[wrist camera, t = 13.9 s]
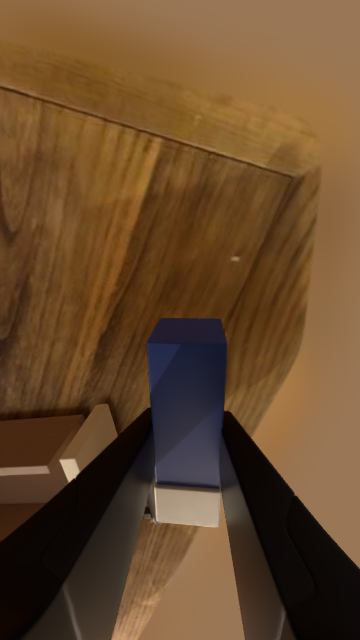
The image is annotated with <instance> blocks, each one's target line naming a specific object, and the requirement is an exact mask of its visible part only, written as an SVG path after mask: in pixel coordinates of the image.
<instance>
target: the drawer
mask: <svg viewBox="0 0 360 640" xmlns="http://www.w3.org/2000/svg"><path fill="white" fill-rule="evenodd" d="M116 437H118V435H117V432H116V429H115V425H114V422H113V419H112V415H111V412H110V409H109V406H108V404H99V405H96V406H95V407H94V409H93V410H92V412H91V413H90V415H89V416H88V418H87V419H86V420H85V418H84V415H83V414H81V415H69V416H56V417H44V418H31V419H19V420H6V421H0V542H1V541H2V540H3V539H4V538H5V537H7V536H8V535H9V534H10V533H12V532H13V531H14V530H15V529H16V528H18V527H19V526H20V525H21V524H23V523H24V522H25V521H26V520H27V519H29V518H30V517H31V516H32V515H33V514H34V513H36V512H37V511H38V510H39V509H40V508H42V507H43V506H44V505H45V504H46V503H47V502H48V501H50V500H51V499H52V498H53V497H54V496H55V495H56V494H57V493H58V492H59V491H60V490H62V489H63V488H64V487H65V486H66V485H67V484H68V483H69V482H70V481H71V480H72V479H73V478H76V476H77V475H78V474H79V473H80V472H81V471H82V470H83V469H84V468H85V467H86V466H87V465H88V464H89V463H90V462H91V461H92V460H93V459H94V458H95V457H97V456H98V455H99V454H100V453H101V452H102V451H103V450H104V449H105V448H106V447H107V446H108V445H109V444H110V443H111V442H112V441H113V440H114V439H115V438H116ZM154 483H155V469H154V475H153V480H152V484H151V488H150V492H149V496H148V499H147V502H148V505H149V507H145V511H144V515H143V518H152V519H153V522H154V523H155V524H162V523H163V522H158V521H157V520H156V509H155V494H154Z"/></svg>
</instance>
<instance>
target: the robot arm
mask: <svg viewBox="0 0 360 640" xmlns="http://www.w3.org/2000/svg"><path fill="white" fill-rule="evenodd" d="M154 469H155V451H154V434H153V425H152V417H151V407H149V408H147V409H146V410H145V411H144V412H143V413H142V414H141V415H140V416H139V417H138V418H136V419H135V420H134V421H133V422H132V423H131V424H130V425H129V426H128V427H127V428H126V429H125V430H124V431H123V432H122V433H121V434H120V435H119V436H118V437H116V438H115V439H114V440H113V441H112V442H111V443H110V444H109V445H108V446H107V447H106V448H105V449H104V450H103V451H102V452H101V453H100V454H99V455H98V456H97V457H95V458H94V459H93V460H92V461H91V462H90V463H89V464H88V465H87V466H86V467H85V468H84V469H83V470H82V471H81V472H80V473H79V474H78V475H77V476H76V478H73V479H72V480H71V481H70V482H69V483H68V484H67V485H66V486H65V487H64V488H63V489H62V490H60V491H59V492H58V493H57V494H56V495H55V496H54V497H53V498H52V499H51V500H50V501H48V502H47V503H46V504H45V505H44V506H43V507H42V508H40V509H39V510H38V511H37V512H36V513H34V514H33V515H32V516H31V517H30V518H29V519H27V520H26V521H25V522H24V523H23V524H21V525H20V526H19V527H18V528H16V529H15V530H14V531H13V532H12V533H10V534H9V535H8V536H7V537H5V538H4V539H3V540H2V541H1V542H0V640H111V638H112V634H113V630H114V626H115V622H116V618H117V615H118V611H119V607H120V603H121V599H122V595H123V592H124V588H125V584H126V580H127V576H128V572H129V569H130V565H131V561H132V557H133V553H134V549H135V545H136V542H137V538H138V534H139V530H140V526H141V522H142V519H143V515H144V511H145V507H146V503H147V499H148V496H149V492H150V488H151V484H152V480H153V475H154ZM219 476H220V485H221V492H222V498H223V504H224V510H225V516H226V523H227V530H228V536H229V542H230V548H231V555H232V560H233V567H234V573H235V579H236V586H237V592H238V598H239V604H240V610H241V617H242V623H243V630H244V636H245V640H360V569H359V568H358V567H357V565H356V564H355V563H354V562H353V561H352V560H351V559H350V558H349V557H348V556H347V555H346V553H345V552H344V551H343V550H342V549H341V548H340V547H339V546H338V544H337V543H336V542H335V541H334V540H333V539H332V538H331V537H330V535H328V534H327V532H326V531H325V530H324V529H323V527H322V526H321V525H320V524H319V523H318V521H317V520H316V519H315V518H314V517H313V515H312V514H311V513H310V512H309V511H308V509H307V508H306V507H305V506H304V504H303V503H302V502H301V501H300V499H299V498H298V497H297V496H294V495H295V494H294V492H293V491H292V489H291V488H290V487H289V486H288V484H287V483H286V482H285V480H283V478H282V477H281V475H280V474H279V473H278V472H277V470H276V469H275V468H274V467H273V465H272V464H271V463H270V462H269V460H268V459H267V458H266V457H265V455H264V454H263V453H262V452H261V450H260V449H259V448H258V446H257V445H256V444H255V442H254V441H253V440H252V439H251V437H250V436H249V435H248V434H247V432H246V431H245V430H244V429H243V427H242V426H241V425H240V423H239V422H238V421H237V420H236V418H235V417H234V416H233V415H232V413H231V412H229V411H224V420H223V428H222V429H221V441H220V461H219Z"/></svg>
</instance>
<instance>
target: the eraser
mask: <svg viewBox="0 0 360 640" xmlns="http://www.w3.org/2000/svg"><path fill="white" fill-rule="evenodd" d="M147 354H148V370H149V386H150V401H151V417H152V425H153V434H154V451H155V483H154V494H155V509H156V520H157V521H158V522H165V523H175V524H186V525H197V526H208V527H219V525H220V511H221V493H222V492H221V485H220V476H219V461H220V441H221V429H222V428H223V420H224V401H225V382H226V363H227V341H226V337H225V333H224V330H223V326H222V322H221V319H190V318H161V319H160V320H159V321H158V323H157V325H156V327H155V328H154V330H153V332H152V334H151V335H150V337H149V339H148V341H147Z"/></svg>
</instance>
